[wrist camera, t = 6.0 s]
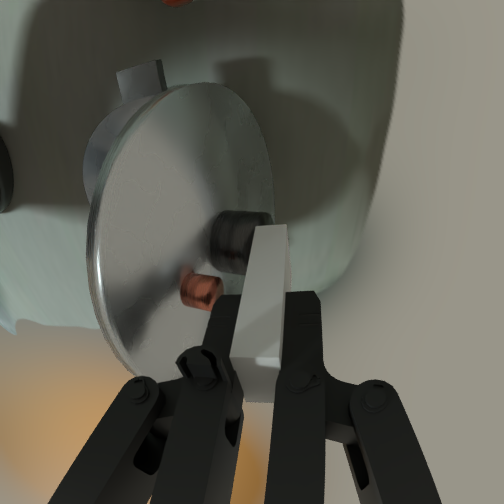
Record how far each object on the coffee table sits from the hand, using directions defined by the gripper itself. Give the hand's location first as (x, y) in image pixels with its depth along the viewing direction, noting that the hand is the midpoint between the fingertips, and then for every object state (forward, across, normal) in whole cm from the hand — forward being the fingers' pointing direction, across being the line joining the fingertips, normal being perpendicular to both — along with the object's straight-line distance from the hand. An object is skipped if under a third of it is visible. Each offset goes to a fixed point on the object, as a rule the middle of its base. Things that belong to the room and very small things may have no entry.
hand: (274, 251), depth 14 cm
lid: (+2, -3, 0) cm, 4 cm away
